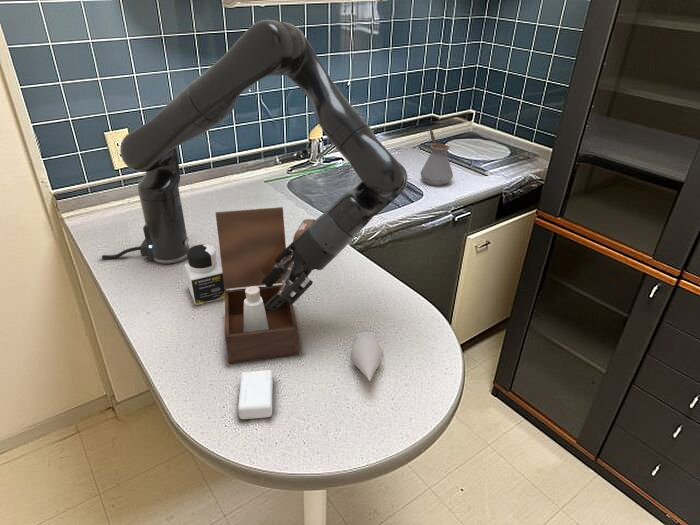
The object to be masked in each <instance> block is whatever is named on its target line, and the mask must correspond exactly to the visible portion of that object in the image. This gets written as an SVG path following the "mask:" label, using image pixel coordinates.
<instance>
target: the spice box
mask: <svg viewBox="0 0 700 525" xmlns="http://www.w3.org/2000/svg"><path fill="white" fill-rule="evenodd" d="M281 286H282V284H273V285H272V286H271V287H267V286H265V285H263V286H257V287H258V288H259V289H260V292H259V293H260V297H261V298H262V300H263V303H264V308H265V313H266V317H267V322H268V327H269V329H267V330H258V331H250V332H243V328H244V300H245V299H246V293H245V290H246V288H247V287H244V288H234V289H226V291H225V298H224V338H225V345H226V352H227V358H228V359H227V360H228V365H232V364H233V365H234V364H240V363H247V362H255V361H262V360H269V359H276V358H284V357H293V356H299V355H300V347H299V328H298V322H297V317H296V312H295V307H294V303H293V304H292V305H291V304H290V303H288V302H287V301H285V302H284V303H283V304H282V305H281V306H280V307H279V308H278V309H277V310H276V311H275V312H271V311H269V310H268V309H266V307H265V304H266V303H267V302H268V301H269V300H270V299H271V298H272V297H273V296H274V295H275V294H276V293H278V292H279V290H280V288H281ZM287 288H288V287H287ZM287 288H286V289H285V291H286V290H287Z"/></svg>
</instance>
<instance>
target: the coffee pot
mask: <svg viewBox="0 0 700 525" xmlns="http://www.w3.org/2000/svg"><path fill="white" fill-rule="evenodd" d="M427 133H428V134H430V139H431V142H432V144H431V145H430V149H431V152H430V154H429V156H428V158H427V160H426V161H425V163H424V165H423V167H422V169H421V171H420V173H419V174H420V177H421V179H422V180H423V181H424V183H426V184H427V185H430V186H437V187H438V186H439V187H440V186H445V185H447V183H449V182H450V181H452V179H453V177H454V174H453V170H452V167H451V164H450V160H449V157H448V154H447V153H448V151H449V150H450V146H449V145H446V144H443V143H436V138H435V135H434V129H432V128H429V129H428V131H427Z"/></svg>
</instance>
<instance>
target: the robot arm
mask: <svg viewBox="0 0 700 525" xmlns="http://www.w3.org/2000/svg"><path fill="white" fill-rule="evenodd" d="M270 76H286V77H287V78H288V79H289V80H291V82H293V83H294V85H296V86H297V87H298V88H299V89H300V90H301V92H302V93H303V94H304V95H305V97H306V98H307V100H308V102H309V104H310V106H311V108H312V111H313V113H314V116H315V118H316V120H317V123H318V125H319V127H320V129H321V130H322V132H323V133H324V135H325V136H326V137H327V139H328V140H329V142H331V143H332V145H333V146H334V147H335V149H336V150H337V151H338V152H339V153H340V154H341V155H342V157H344V158H345V160H347V161H348V163H349V164H350V166H351V167H352V169H353V170H354V172H355V173H356V175H357V176H358V177H359V179H360V180H361V182H359V183H358V184H357V185H356V186H355V187H354V188H353V189H351V190H349V191H346V192H345V193H344V194H342V195H341V196H340V197H339V198H338V199H337V200H336V201H335V202H334V203H333V204H332V205H331V206H330V207H329V208H328V209H327V210H326V211H324V213H322V214H321V215H319V216H318V217H317V218H316V219H315V221H314V222H313V223H312V224H311V226H310V227H308V228H307V229H306V230H305V232H304V233H303V234H302V235H301V236H300V237H299V238H298V239H297V240H296V241H295V242H293V241H292V242H291V243H290V244H289V245H288V246H287V247H286V249H285V250H284V251H283V252H282V253H281V254H280V255H279V256H278V257H277V258H276V259H275V262H276V264H275V265H274V267H273V268H274V269H273V270H272V271H271V272H270V273H269V274H268V275H267V276H266V277H265V278H264V279H263V280H262V283H263V284H264V285H263V286H267V287H271V286H274V285H275V284H274V283H275V282H276V281H277V280H279V279H280V278H281V277H282V275H283V274H285V276H284V278H283V279H282V283H281V285H282V286H281V288H280V290H279V292H278V293H276V294H275V295H274V296H273V297H272V298H271V299H270V300H269V301H268V302H267V303H266V304H265V307H266V309H268V310H269V311H271V312H275V311H276V310H277V309H278V308H279V307H280V306H281V305H282V304H283V303H284V302H285V301H287V302H288V303H290V304H291V305H292V304H293V305H294V304H295V303H296V301H298V300H299V299H300V298H301V296H302V295H303V294H304V293H305V292H307V290H308V289H309V288H310V287H312V285H313V280H312V279H310V278H309V275H310V274H311V272H312V271H314V270H317V271H322V270H324V268H325V267H327V266H328V264H330V263H331V262H332V261H333V260H334V259H335V258H336V257H337V256H338V255H339V254H340V253H341V252H342V251H343V250H344V249H345V248H346V247H347V246H348V245H349V243H350V242H351V241H352V240H353V239H354V237H356V235H358V233H359V232H361V230H363V229H364V228H365V227H366V226H367V225H368V224H369V223H370V221H371V220H372V219H373V218H374V217H375V216H376V215H377V214H379V213H380V212H381V211H383V210H384V209H385V208H386V207H388V206H389V205H390V204H391V203H393V202H394V200H396V199H397V198H398V197H399V196H400V195H401V194H402V193H403V192H404V191H405V189H406V187H407V184H408V173H407V170H406V168H405V167H404V166H403V165H402V164H401V163H400V162H399V161H398V160H397V159H396V158H395V157H394V156H393V154H392V153H390V151H389V150H388V149H387V148H386V147H385V146H384V145H383V143H382V142H381V141H379V139H378V138H377V135H376V134H375V132H374V131H373V129H372V128H371V127H370V126H369V124H368V123H367V122H366V121H365V120H364V119H363V117H362V116H361V115H360V114H359V113H358V111H356V109H355V108H354V106H353V105H351V103H350V101H348V99H347V98H346V97H345V96H344V94H343V93H342V92H341V90H340V89H339V88H338V86H337V85H336V83H335V82H334V80H333V79H332V77H331V76H330V74H329V73H328V71H327V70H326V69H325V67H324V65H323V64H322V62H321V61H320V59H319V57H318V55H317V54H316V52H315V50H314V48H313V47H312V45H311V43H310V42H309V40H308V39H307V36H305V34H304V33H303V31H302V30H301V29H300V28H299V27H298V26H296V25H294V24H293V23H290V22H285V21H280V20H274V19H263V20H259V21H257V22H255V23H253V24H252V25H251V26H250V27H249V28H248V29H246V31H245V32H244V33H242V35H241V36H240V37H239V38H238V39H237V40H236V42H235V43H234V44H233V45H232V46H231V47H230V48H229V50H227V52H226V53H224V55H223V56H222V57H221V58H219V59H218V60H217V61H216V62H215V63H213V64H212V65H210V67H208V69H206V70H205V71H204V72H203V73H202V74H201V75H199V76H198V77H197V78H195V79H194V80H192V81H191V83H189V84H188V85H187V86H185V87H184V88H183V89H182V90H181V91H180V92H179V93H178V94H177V95H176V96H174V98H172V99H171V100H170V101H169V102H168V103H167V104H166V105H165V106H164V107H162V109H161V110H159V111H158V112H157V113H156V115H155V116H153V118H151V119H150V120H149V121H147V122H145V123H144V124H142V125H141V126H139V127H138V128H136V129H134V130H133V131H131V132H129V133H127V134H126V135H125V136H124V137H123V139H122V141H121V143H120V148H119V149H120V150H119V151H120V157H121V160H122V161H123V163H124V164H125V166H127V167H128V168H129V169H131V170H133V171H135V172H138V173H145V174H144V176H143V177H142V178H141V180H140V181H139V183H138V184H137V192H138V196H139V201H140V206H141V210H142V214H143V215H142V216H143V219H144V220H143V221H144V223H145V224H144V226H143V227H142V231H143V235H144V240H143V241H142V242H141V244H140V245H139V246H135V247H130V248H127V249H124V250H122V251H121V252H118V253H116V254H111V255H110V254H102V255H101V258H102V259H104V260H105V259H108V260H110V259H111V260H113V259H118V258H120V257H122V256H125V254H127V253H132V252H135V251H139V252H140V256H141V257H149V258H148V259H149V261H150V262H156V263H157V264H162V265H171V264H175V263H179V262H182V261H185V260H186V259H188V257H187V251H188V250H189V249H190V244H189V241H190V240H189V237H188V235H187V234H188V233H187V228H186V222H185V216H184V211H183V206H182V199H181V193H180V187H179V186H180V183H181V172H180V162H179V153H178V148H177V147H179V146H181V145H183V144H186V143H187V142H189V141H191V140H193V139H195V138H198V137H200V136H201V135H203V134H205V133H206V132H208V131H210V130H211V129H213V128H215V127H216V126H217V125H218V124H220V123H222V122H223V121H224V120H225V119H226V118H228V117H229V116H230V114H231V113H232V112H233V110H234V109H235V107H236V104H237V102H238V99H239V97H240V96H241V94H242V93H244V92H245V91H246V90H247V89H248V88H250V87H252V86H253V85H255V84H256V83H258V82H259V81H261V80H263V79H265V78H267V77H270ZM283 257H286V258H283ZM282 258H283V259H282ZM281 274H282V275H281ZM287 287H288V288H287ZM286 288H287V290H286V291H285V289H286Z"/></svg>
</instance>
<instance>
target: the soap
mask: <svg viewBox="0 0 700 525" xmlns="http://www.w3.org/2000/svg"><path fill="white" fill-rule="evenodd" d="M273 382H274V380H273V372H272V371H271V370H269V369H266V370H255V371H254V370H253V371H243V372H242V373H241V376H240V385H239V397H238V407H237V410H238V416H239V419H241V420H250V419H251V420H252V419H264V418H265V419H266V418H270V417H272V415H273V385H274V384H273Z"/></svg>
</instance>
